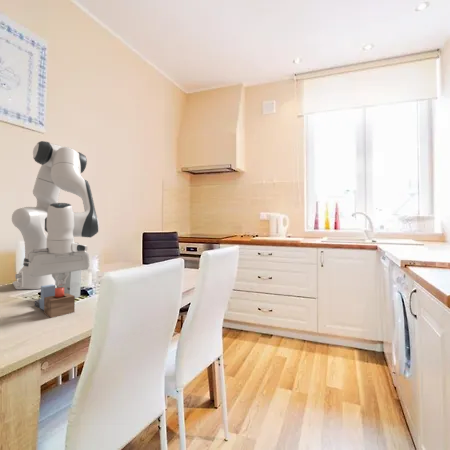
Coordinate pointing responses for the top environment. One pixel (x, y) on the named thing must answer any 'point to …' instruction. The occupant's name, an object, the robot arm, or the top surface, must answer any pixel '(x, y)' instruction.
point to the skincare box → (72, 283)
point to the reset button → (59, 292)
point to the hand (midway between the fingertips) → (60, 285)
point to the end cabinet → (59, 305)
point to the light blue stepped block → (46, 293)
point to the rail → (37, 303)
